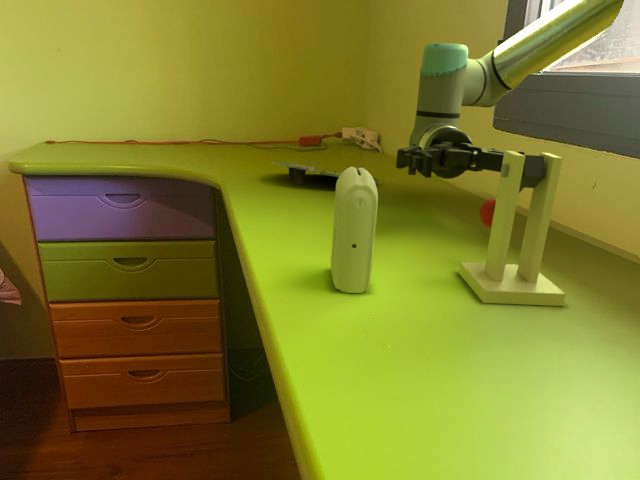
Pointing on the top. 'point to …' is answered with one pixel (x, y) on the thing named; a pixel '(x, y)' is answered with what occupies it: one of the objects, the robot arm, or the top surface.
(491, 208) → the switch lever
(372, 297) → the top surface
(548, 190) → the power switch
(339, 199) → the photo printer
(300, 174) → the city model
